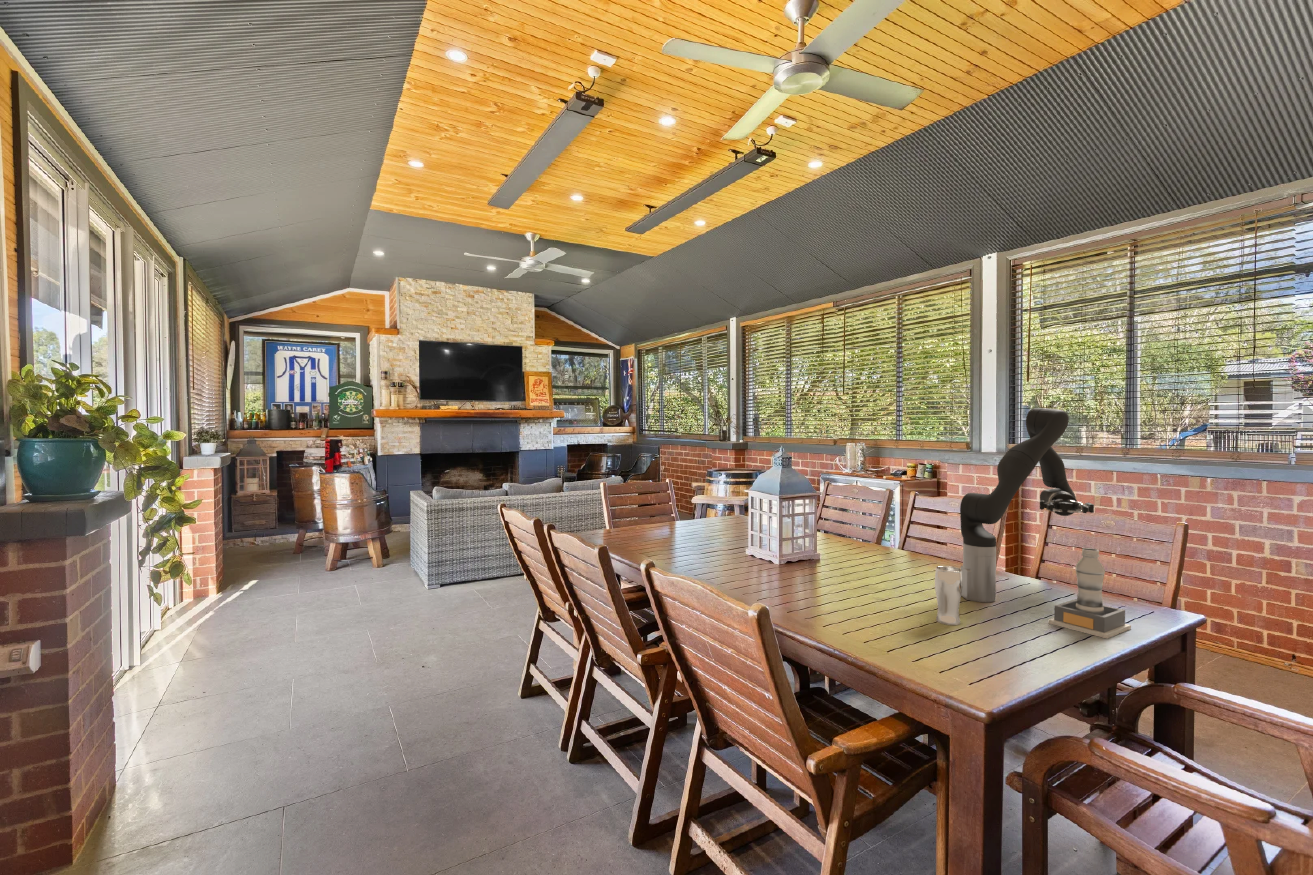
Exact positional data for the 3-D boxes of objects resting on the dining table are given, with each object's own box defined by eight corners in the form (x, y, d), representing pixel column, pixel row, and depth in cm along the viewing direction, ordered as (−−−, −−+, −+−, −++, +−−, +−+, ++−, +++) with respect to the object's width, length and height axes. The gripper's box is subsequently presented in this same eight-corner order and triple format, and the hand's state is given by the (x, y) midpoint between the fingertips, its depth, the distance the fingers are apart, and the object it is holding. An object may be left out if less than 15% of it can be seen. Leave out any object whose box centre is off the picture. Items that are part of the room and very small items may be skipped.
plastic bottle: (1109, 626, 160) (1111, 552, 160) (1081, 625, 162) (1082, 551, 161) (1097, 619, 167) (1098, 547, 166) (1069, 617, 168) (1071, 546, 167)
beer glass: (961, 619, 169) (962, 566, 169) (962, 627, 163) (963, 572, 163) (934, 616, 172) (934, 564, 172) (934, 623, 166) (934, 569, 165)
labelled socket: (1107, 638, 154) (1107, 619, 154) (1048, 623, 166) (1048, 605, 166) (1130, 628, 162) (1131, 610, 162) (1073, 614, 174) (1073, 597, 173)
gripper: (1037, 490, 202) (1041, 495, 188) (1089, 493, 195) (1096, 498, 181) (1036, 512, 202) (1040, 519, 188) (1088, 516, 196) (1096, 522, 181)
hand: (1068, 508), depth 185 cm, fingers open, 8 cm apart
